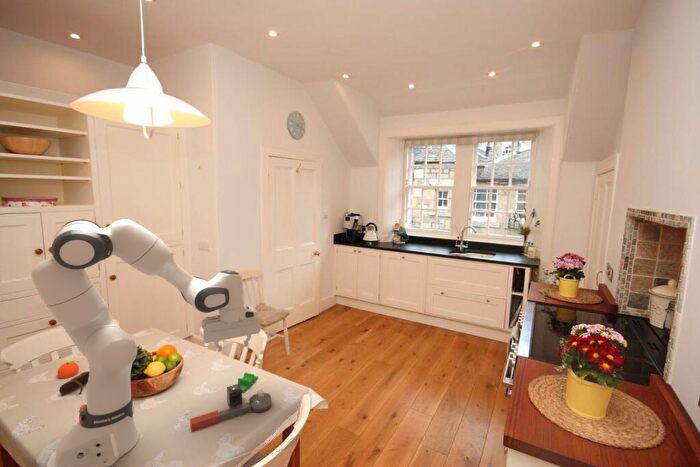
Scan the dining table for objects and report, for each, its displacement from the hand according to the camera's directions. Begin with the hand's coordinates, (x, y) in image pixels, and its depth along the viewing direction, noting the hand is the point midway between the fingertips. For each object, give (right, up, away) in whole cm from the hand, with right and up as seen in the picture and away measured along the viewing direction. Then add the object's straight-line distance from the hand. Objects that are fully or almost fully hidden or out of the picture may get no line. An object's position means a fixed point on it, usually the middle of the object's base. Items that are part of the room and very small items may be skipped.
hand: (233, 348), depth 122 cm
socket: (-1, -22, +3) cm, 22 cm away
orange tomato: (-77, -19, +18) cm, 81 cm away
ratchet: (+1, -23, -4) cm, 23 cm away
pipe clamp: (+4, -18, +15) cm, 24 cm away
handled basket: (-59, -21, +7) cm, 63 cm away
